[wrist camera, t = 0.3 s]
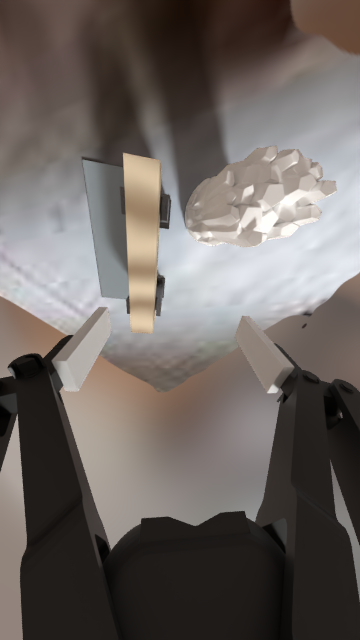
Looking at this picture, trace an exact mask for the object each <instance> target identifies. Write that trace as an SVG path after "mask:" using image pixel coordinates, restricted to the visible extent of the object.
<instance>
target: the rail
mask: <svg viewBox="0 0 360 640" xmlns="http://www.w3.org/2000/svg"><path fill="white" fill-rule="evenodd" d="M123 163H124V186H125V208H126V231H127V254H128V276H129V299H130V321H131V332H135V333H150V334H152V333H153V327H154V321H155V303H156V283H157V263H158V243H159V223H160V204H161V184H162V171H161V163H160V160H156V159H151V158H146V157H141V156H136V155H131V154H126V153H123Z"/></svg>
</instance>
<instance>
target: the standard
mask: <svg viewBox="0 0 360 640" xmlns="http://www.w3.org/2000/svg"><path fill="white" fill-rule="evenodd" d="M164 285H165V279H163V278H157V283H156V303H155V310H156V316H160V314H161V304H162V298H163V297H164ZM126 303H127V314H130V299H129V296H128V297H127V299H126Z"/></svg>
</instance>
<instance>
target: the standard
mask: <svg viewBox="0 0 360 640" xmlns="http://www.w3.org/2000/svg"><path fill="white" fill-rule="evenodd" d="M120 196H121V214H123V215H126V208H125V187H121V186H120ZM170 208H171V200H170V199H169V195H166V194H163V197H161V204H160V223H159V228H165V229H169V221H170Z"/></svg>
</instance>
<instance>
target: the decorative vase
mask: <svg viewBox="0 0 360 640" xmlns="http://www.w3.org/2000/svg"><path fill="white" fill-rule="evenodd" d="M322 177H323V172H322V167H321V166H320V164H319V163H318V162H312V159H308V158H304V157H303V156H302V154H301V153H300V151H299V150H298V149H297V150H295V149H290V150H282V151H281V152H279V153H278V150H277V146H271V147H265V148H257V149H256V150H255V151H253V152H252V153H251V154H250V155H249V156H248V157H247V158H246V159H245V160H244V161H240V162H236V163H233V164H228V165H227V166H226V167H225V168H224V169H223V170H222V171H221V172H220V173H219V174H218V175H217V176H213V177H212V178H211V179H210V178H207V179H205V180H204V181H202V182H201V183H200V184H199V185H198V186H197V187H196V189H195V190H194V192H193V193H192V195H191V197H190V198H189V201H188V203H187V206H186V208H185V209H186V212H185V224H186V227H188V228H187V230H188V232H189V234H190V235H191V236H192V238H193V239H195V240H196V241H198V242H200V243H202V244H205V245H208V246H216V245H219V244H225V243H229V244H232V245H236V246H240V247H256V246H258V245H259V244H261V243H262V242H263V241H266V240H269V239H278V238H285V237H290V236H291V235H292V234H293V233H294V232H295V231H296V230H297V228H298V227H299V226H300V225H304V224H308V223H312V222H315V221H318V220H319V218H320V215H321V213H322V212H321V210H320V209H319V207H318V206H317V205H314V204H311V203H314V202H316V201H319V200H321V199H324V198H326V197H328V196H330V195H332V194H333V193H335V192H336V191H337V189H336V182H335V181H323V180H322V181H318V180H319V179H321V178H322Z"/></svg>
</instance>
